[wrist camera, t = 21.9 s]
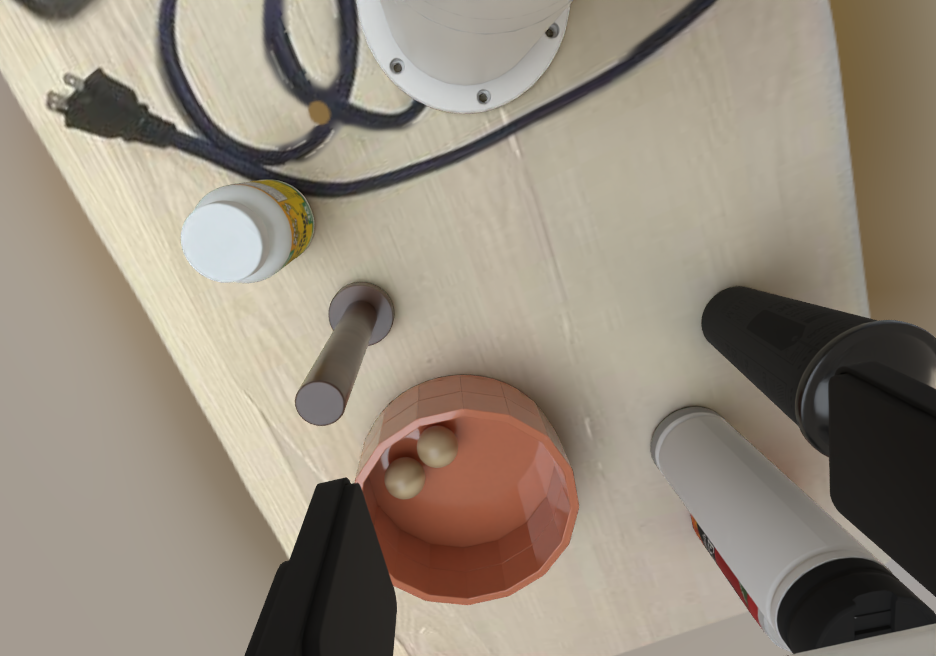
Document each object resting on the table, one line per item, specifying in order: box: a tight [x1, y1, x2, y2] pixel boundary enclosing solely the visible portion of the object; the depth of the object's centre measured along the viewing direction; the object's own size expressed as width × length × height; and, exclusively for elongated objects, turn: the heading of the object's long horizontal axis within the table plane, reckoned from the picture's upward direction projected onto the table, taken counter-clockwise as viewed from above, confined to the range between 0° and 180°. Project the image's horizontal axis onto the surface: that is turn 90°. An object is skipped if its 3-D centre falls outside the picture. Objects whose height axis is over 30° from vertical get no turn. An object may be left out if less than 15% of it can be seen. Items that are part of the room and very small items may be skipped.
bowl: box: [355, 375, 579, 605], centre depth 40 cm, size 15×15×6 cm
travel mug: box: [651, 407, 936, 654], centre depth 34 cm, size 6×7×20 cm
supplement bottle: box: [181, 180, 315, 283], centre depth 32 cm, size 5×5×10 cm
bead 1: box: [384, 457, 425, 499], centre depth 40 cm, size 3×3×3 cm
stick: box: [295, 282, 394, 426], centre depth 31 cm, size 4×4×15 cm
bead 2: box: [417, 426, 458, 468], centre depth 40 cm, size 3×3×3 cm
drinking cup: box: [702, 287, 936, 457], centre depth 31 cm, size 8×8×20 cm
